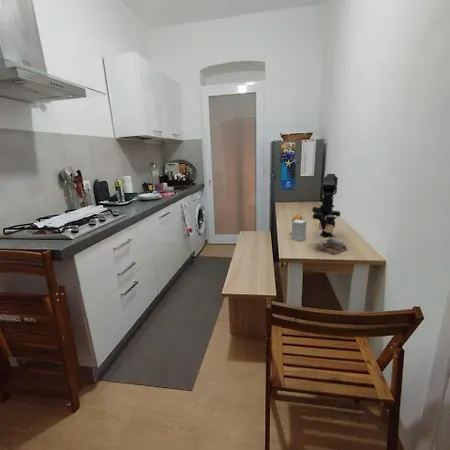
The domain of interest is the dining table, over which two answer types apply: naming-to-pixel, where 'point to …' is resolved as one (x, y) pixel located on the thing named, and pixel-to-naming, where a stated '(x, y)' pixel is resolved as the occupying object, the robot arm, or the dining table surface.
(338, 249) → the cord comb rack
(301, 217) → the french fries
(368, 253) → the dining table surface
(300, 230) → the supplement box
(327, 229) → the tall terracotta pillar
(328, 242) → the tall slate pillar
